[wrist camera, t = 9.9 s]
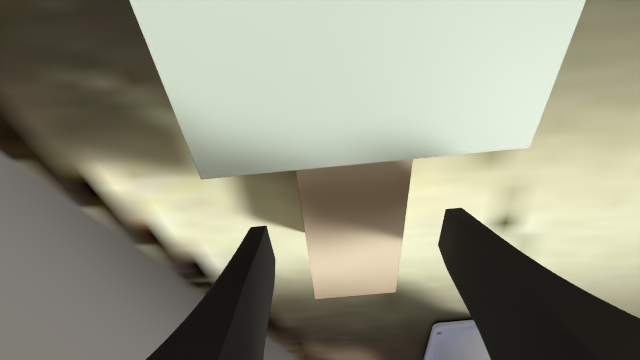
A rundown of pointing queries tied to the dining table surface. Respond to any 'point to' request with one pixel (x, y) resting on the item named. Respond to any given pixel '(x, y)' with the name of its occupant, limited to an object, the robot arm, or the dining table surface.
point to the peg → (354, 226)
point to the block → (353, 77)
